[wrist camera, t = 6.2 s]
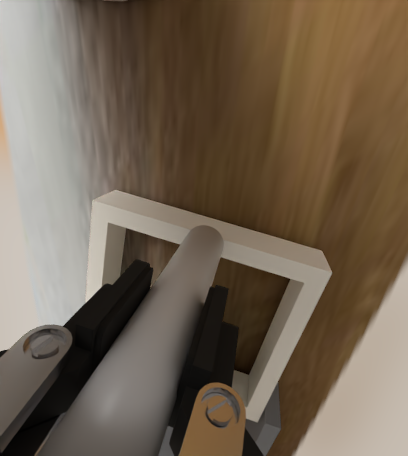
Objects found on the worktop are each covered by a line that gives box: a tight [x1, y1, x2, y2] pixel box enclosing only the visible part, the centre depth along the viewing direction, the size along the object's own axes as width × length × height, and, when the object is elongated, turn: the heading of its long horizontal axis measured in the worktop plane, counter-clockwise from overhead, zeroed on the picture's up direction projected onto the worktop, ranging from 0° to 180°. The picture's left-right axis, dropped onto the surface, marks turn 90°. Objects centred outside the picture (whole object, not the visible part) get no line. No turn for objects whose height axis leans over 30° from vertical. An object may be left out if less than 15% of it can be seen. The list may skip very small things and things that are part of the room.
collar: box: [37, 190, 332, 456], centre depth 15 cm, size 15×15×16 cm
